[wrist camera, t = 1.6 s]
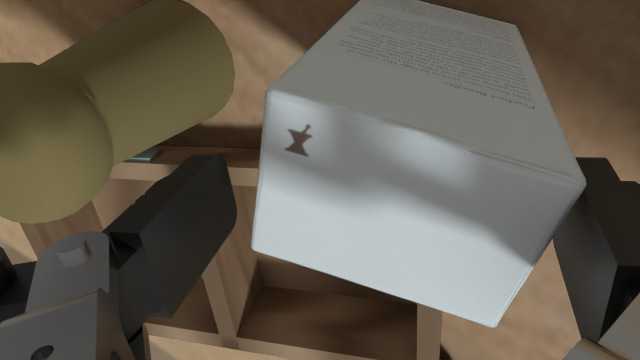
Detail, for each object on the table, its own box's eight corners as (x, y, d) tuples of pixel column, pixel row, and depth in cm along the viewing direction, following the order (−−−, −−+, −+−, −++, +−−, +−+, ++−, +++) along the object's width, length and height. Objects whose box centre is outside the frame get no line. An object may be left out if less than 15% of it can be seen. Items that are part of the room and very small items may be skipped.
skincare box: (348, 85, 21) (238, 250, 11) (370, -14, 18) (258, 79, 8) (481, 122, 20) (497, 338, 10) (523, 23, 17) (599, 176, 8)
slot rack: (449, 150, 21) (445, 205, 17) (442, 313, 26) (437, 383, 22) (62, 139, 27) (-4, 177, 23) (117, 272, 32) (69, 321, 28)
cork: (156, -32, 20) (-98, 18, 11) (258, 63, 21) (102, 181, 12) (104, 63, 24) (-124, 161, 14) (195, 142, 24) (35, 281, 15)
